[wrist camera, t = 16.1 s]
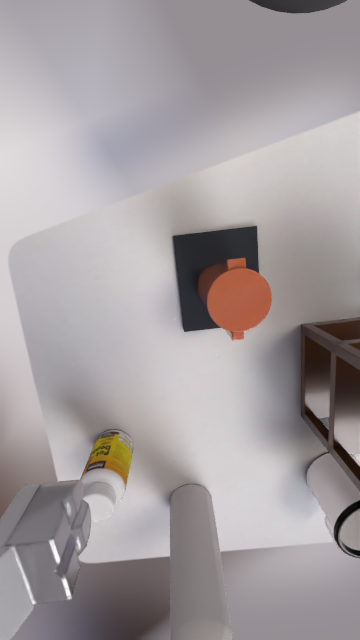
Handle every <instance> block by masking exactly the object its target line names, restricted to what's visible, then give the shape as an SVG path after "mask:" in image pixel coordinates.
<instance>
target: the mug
mask: <svg viewBox="0 0 360 640" xmlns="http://www.w3.org/2000/svg"><path fill="white" fill-rule="evenodd" d="M350 456H351V457H352V458H353V459H354V460H355V462H356V463H357V464H358V465H359V466H360V463H359V462H358V461H357V460H356V458H355V457H353V456H352V455H350ZM307 483H308V486H309V487H310V489H311V491H312V493H313V494H314V496H315V498H316V499H317V501H318V503H319V505H320V506H321V508H322V510H323V511H324V513H325V515H326V516H325V524H326V526H327V528H328V530H329V532H330V534H331V536H332V538H333V540H334V541H335V543H336V545H337V546H338V548H339V549H340V550H341V551H343V552H345V553H346V554H348V555H350V556H353V557H356V558H360V491H359V490H358V489H357V487H356V486H355V485H354V483H353V482H352V481H351V480H350V478H349V477H348V476H347V474H346V473H345V472H344V471H343V469H342V468H341V467H340V465H339V464H338V463H337V462H336V460H335V459H334V458H333V456H332V455H331V454H330V453H327V454H325V455H322V456H320V457H319V458H318V459H316V460H315V461H314V462H313V463H312V464H311V466H310V467H309V469H308V472H307Z"/></svg>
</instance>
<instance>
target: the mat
mask: <svg viewBox="0 0 360 640" xmlns="http://www.w3.org/2000/svg"><path fill="white" fill-rule="evenodd" d="M173 238H174V247H175V255H176V264H177V273H178V282H179V290H180V299H181V308H182V316H183V325H184V332H187V331H196V330H204V329H213V328H221V327H220V326H218V325H217V324H216V323H215V322H214V321H213V319H212V318H211V316H210V314H209V313H208V311H207V309H206V308H205V306H204V304H203V302H202V301H201V299H200V297H199V295H198V291H197V282H198V279H199V276H200V274H201V273H202V271H203V270H204V269H205V268H207V267H208V266H210V265H212V264H215V263H226V261H225V260H226V259H234V258H245V259H246V268H247V269H251V270H253V271H256V272H257V273H259V267H258V242H257V226H253V227H245V228H237V229H228V230H220V231H211V232H203V233H194V234H186V235H177V236H173Z"/></svg>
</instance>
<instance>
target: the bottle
mask: <svg viewBox="0 0 360 640" xmlns="http://www.w3.org/2000/svg"><path fill="white" fill-rule="evenodd" d="M170 603H171V604H170V611H171V614H170V615H171V617H170V619H171V640H233V635H232V629H231V622H230V615H229V608H228V602H227V596H226V588H225V582H224V575H223V568H222V562H221V555H220V548H219V542H218V535H217V528H216V522H215V515H214V510H213V504H212V497H211V495H210V493H209V491H208V490H207V489H205V488H204V487H202V486H200V485H196V484H188V485H184V486H182V487H179V488H178V489H177V490H175V491H174V493H173V494H172V496H171V499H170Z"/></svg>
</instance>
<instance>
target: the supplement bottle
mask: <svg viewBox="0 0 360 640" xmlns="http://www.w3.org/2000/svg"><path fill="white" fill-rule="evenodd" d="M132 453H133V442H132V440H131V438H130V437H129V436H128V435H127V434H126V433H124V432H122V431H118V430H109V431H106V432H104V433H102V434H101V435H100V436H99V437H98V438H97V440H96V442H95V445H94V447H93V449H92V452H91V454H90V457H89V459H88V462H87V464H86V467H85V469H84V472H83V474H82V477H81V479H80V480H81V481H82V482H83V485H84V488H85V493H84V496H83V500H84V501H86V502H87V503H88V504H89V507H90V511H91V521H92V522H101V521H104V520H106V519H108V518H109V517H110V516H111V515H112V514H113V511H114V507H115V505H117V504H118V503H119V502H120V501H121V500H122V498H123V496H124V493H125V489H126V484H127V478H128V473H129V468H130V463H131V458H132Z"/></svg>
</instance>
